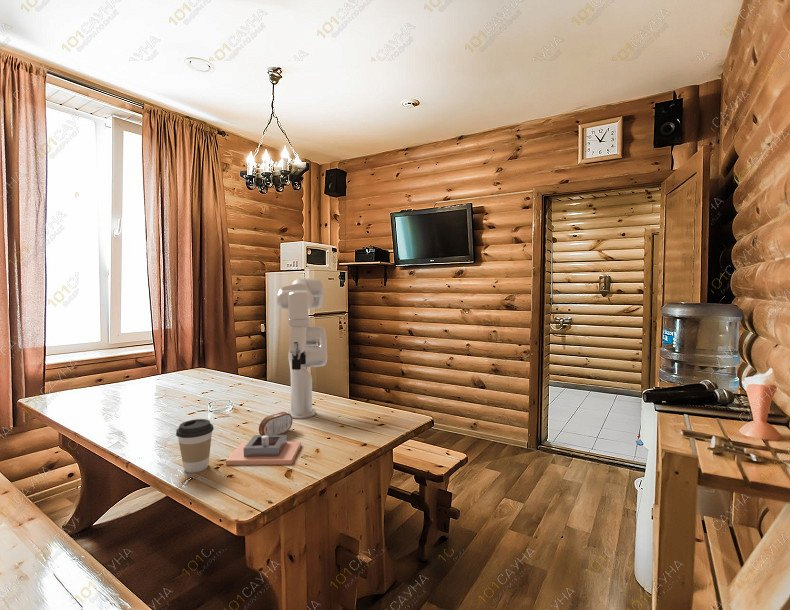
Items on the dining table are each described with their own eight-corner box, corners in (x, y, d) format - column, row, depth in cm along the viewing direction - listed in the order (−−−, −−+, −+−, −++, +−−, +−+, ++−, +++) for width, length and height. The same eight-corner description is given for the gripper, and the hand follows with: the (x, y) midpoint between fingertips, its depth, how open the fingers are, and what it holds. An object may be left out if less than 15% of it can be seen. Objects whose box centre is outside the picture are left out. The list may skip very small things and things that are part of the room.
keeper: (242, 445, 157) (241, 427, 157) (301, 445, 158) (300, 427, 157) (225, 464, 141) (225, 444, 141) (291, 464, 142) (291, 443, 141)
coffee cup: (194, 458, 146) (193, 416, 145) (222, 462, 143) (221, 419, 142) (168, 473, 135) (167, 427, 134) (197, 478, 132) (196, 431, 131)
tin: (288, 428, 175) (288, 409, 175) (293, 430, 173) (293, 410, 173) (258, 439, 163) (257, 418, 163) (263, 441, 161) (262, 420, 161)
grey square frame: (254, 443, 156) (254, 435, 156) (286, 442, 156) (286, 434, 156) (243, 456, 144) (243, 448, 144) (278, 456, 144) (278, 447, 144)
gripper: (293, 321, 171) (294, 362, 172) (283, 325, 154) (284, 371, 155) (312, 321, 171) (312, 362, 172) (303, 325, 154) (304, 371, 155)
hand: (299, 366), depth 164 cm, fingers open, 9 cm apart
